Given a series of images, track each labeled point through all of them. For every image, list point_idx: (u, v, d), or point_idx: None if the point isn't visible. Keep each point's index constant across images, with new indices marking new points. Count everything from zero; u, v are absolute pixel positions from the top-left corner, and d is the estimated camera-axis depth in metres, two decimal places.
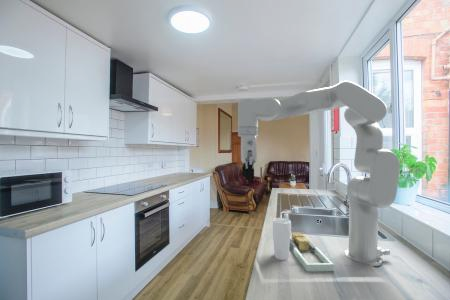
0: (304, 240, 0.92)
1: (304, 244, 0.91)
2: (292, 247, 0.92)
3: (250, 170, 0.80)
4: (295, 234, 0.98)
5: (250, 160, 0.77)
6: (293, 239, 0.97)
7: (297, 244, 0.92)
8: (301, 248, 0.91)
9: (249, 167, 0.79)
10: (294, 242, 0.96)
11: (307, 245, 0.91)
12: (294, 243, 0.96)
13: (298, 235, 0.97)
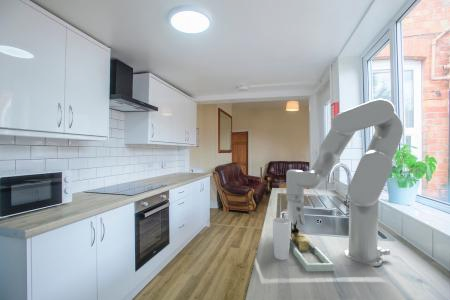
0: (304, 240, 0.92)
1: (304, 244, 0.91)
2: (292, 247, 0.92)
3: (296, 231, 1.01)
4: (295, 234, 0.98)
5: (297, 228, 0.98)
6: (293, 239, 0.97)
7: (297, 244, 0.92)
8: (301, 248, 0.91)
9: (295, 229, 1.00)
10: (294, 242, 0.96)
11: (307, 245, 0.91)
12: (294, 243, 0.96)
13: (298, 235, 0.97)
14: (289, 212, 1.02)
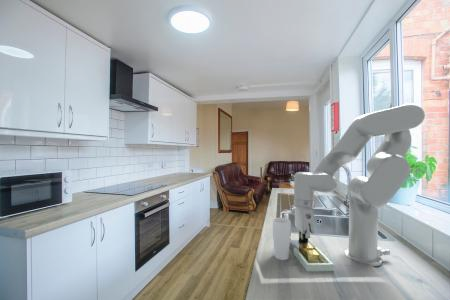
0: (313, 253, 0.82)
1: (314, 258, 0.81)
2: (292, 247, 0.92)
3: (305, 241, 0.90)
4: (303, 245, 0.87)
5: (306, 237, 0.87)
6: (301, 251, 0.87)
7: (306, 257, 0.83)
8: (310, 262, 0.81)
9: (304, 238, 0.90)
10: (302, 254, 0.86)
11: (317, 259, 0.81)
12: (302, 255, 0.86)
13: (306, 246, 0.86)
14: (297, 219, 0.91)
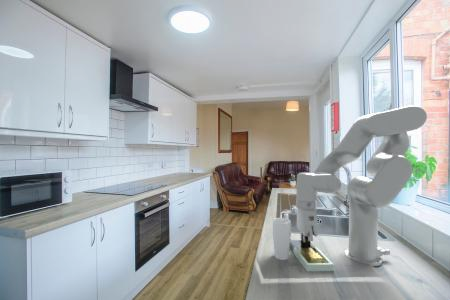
0: (316, 257, 0.80)
1: (316, 262, 0.79)
2: (292, 247, 0.92)
3: (307, 243, 0.87)
4: (305, 250, 0.85)
5: (309, 240, 0.84)
6: (303, 256, 0.84)
7: (308, 261, 0.80)
8: None
9: (307, 241, 0.87)
10: None
11: (320, 262, 0.79)
12: None
13: (308, 251, 0.84)
14: (299, 221, 0.88)
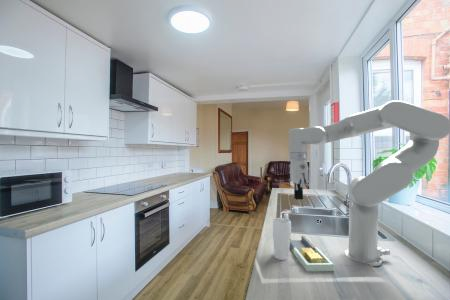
0: (316, 257, 0.80)
1: (316, 262, 0.79)
2: (292, 247, 0.92)
3: (300, 191, 0.97)
4: (305, 250, 0.85)
5: (301, 187, 0.94)
6: (303, 256, 0.84)
7: (308, 261, 0.80)
8: None
9: (299, 189, 0.96)
10: None
11: (320, 262, 0.79)
12: None
13: (308, 251, 0.84)
14: (292, 172, 0.98)
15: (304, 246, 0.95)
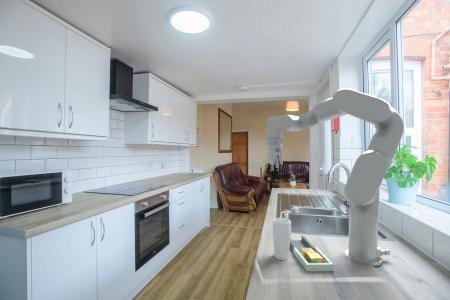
0: (316, 257, 0.80)
1: (316, 262, 0.79)
2: (292, 247, 0.92)
3: (275, 172, 1.11)
4: (305, 250, 0.85)
5: (276, 168, 1.08)
6: (303, 256, 0.84)
7: (308, 261, 0.80)
8: None
9: (275, 170, 1.10)
10: None
11: (320, 262, 0.79)
12: None
13: (308, 251, 0.84)
14: (269, 155, 1.12)
15: (304, 246, 0.95)
